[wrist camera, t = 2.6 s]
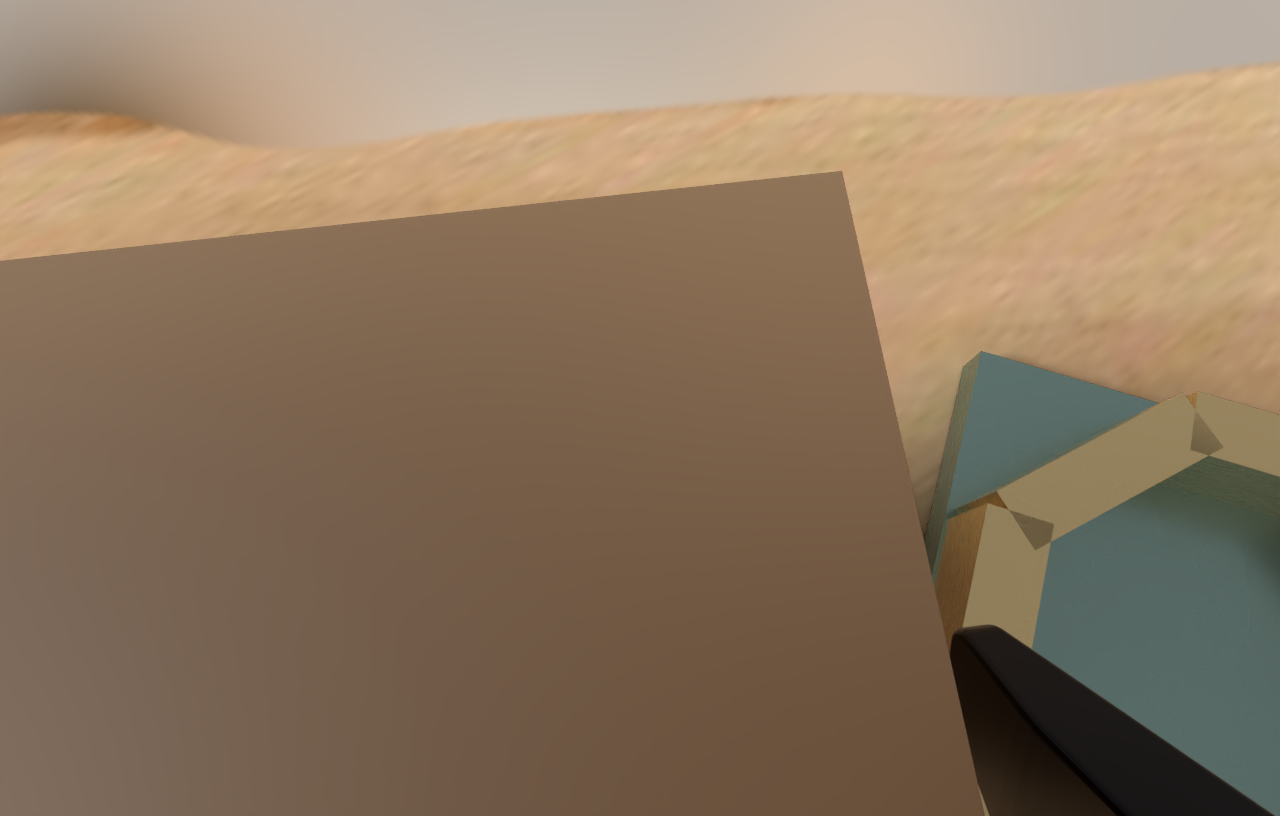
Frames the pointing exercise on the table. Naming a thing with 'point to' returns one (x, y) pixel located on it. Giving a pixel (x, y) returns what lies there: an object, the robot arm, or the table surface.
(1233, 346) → the table surface
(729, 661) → the peg
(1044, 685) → the robot arm
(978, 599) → the socket plate
